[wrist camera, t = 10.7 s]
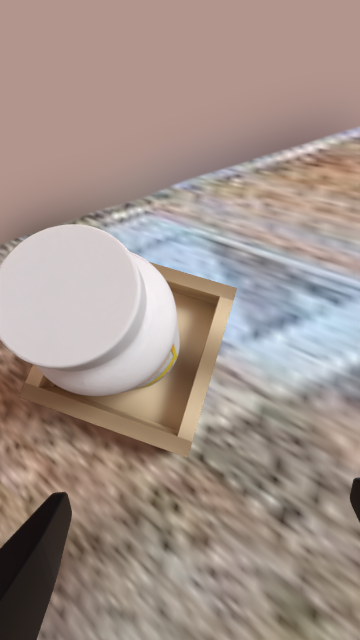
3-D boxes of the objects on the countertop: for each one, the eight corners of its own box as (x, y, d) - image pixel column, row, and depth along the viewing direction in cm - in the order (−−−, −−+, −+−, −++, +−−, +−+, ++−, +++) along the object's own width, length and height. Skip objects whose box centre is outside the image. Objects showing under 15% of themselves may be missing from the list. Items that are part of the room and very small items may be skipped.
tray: (186, 446, 19) (187, 457, 16) (42, 394, 20) (18, 396, 17) (229, 300, 22) (236, 288, 19) (99, 261, 23) (86, 243, 20)
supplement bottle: (105, 299, 21) (-7, 183, 9) (185, 310, 21) (187, 205, 8) (87, 382, 20) (-79, 385, 7) (173, 395, 19) (155, 421, 7)
